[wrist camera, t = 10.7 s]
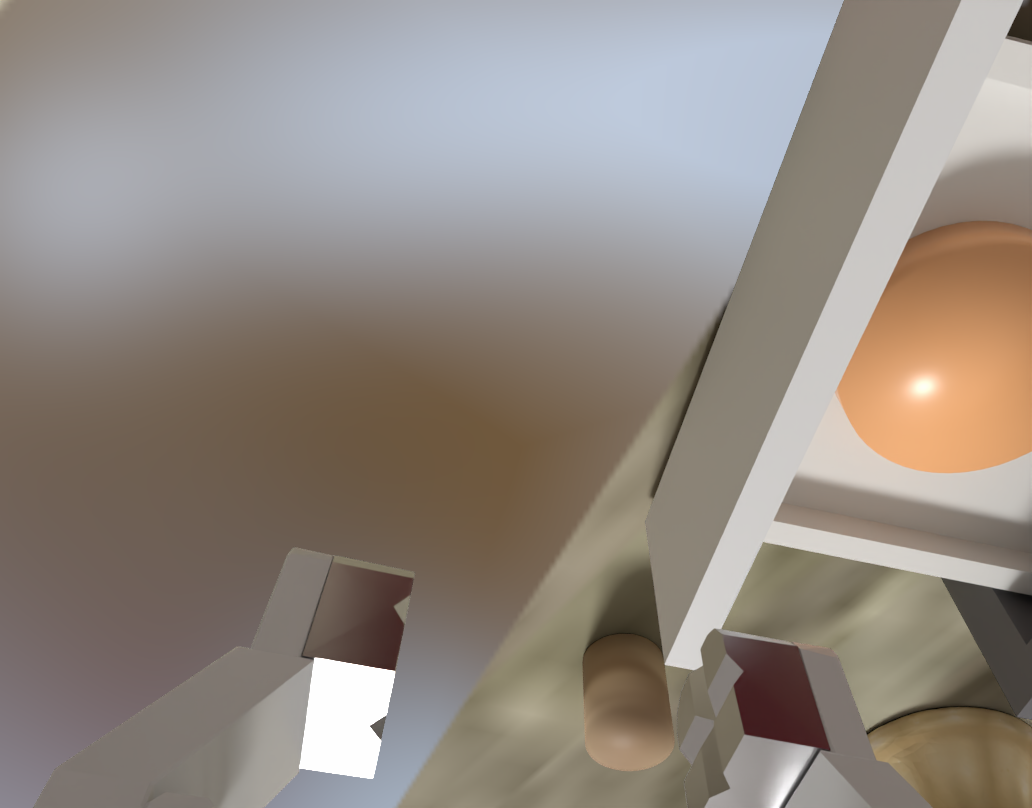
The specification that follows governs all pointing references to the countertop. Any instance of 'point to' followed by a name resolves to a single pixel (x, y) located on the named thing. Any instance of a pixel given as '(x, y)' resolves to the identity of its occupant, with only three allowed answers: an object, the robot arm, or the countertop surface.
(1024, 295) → the peach hemisphere
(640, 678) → the post
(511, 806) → the countertop surface
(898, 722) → the hand bell
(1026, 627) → the block
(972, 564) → the white drawer
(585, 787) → the countertop surface
